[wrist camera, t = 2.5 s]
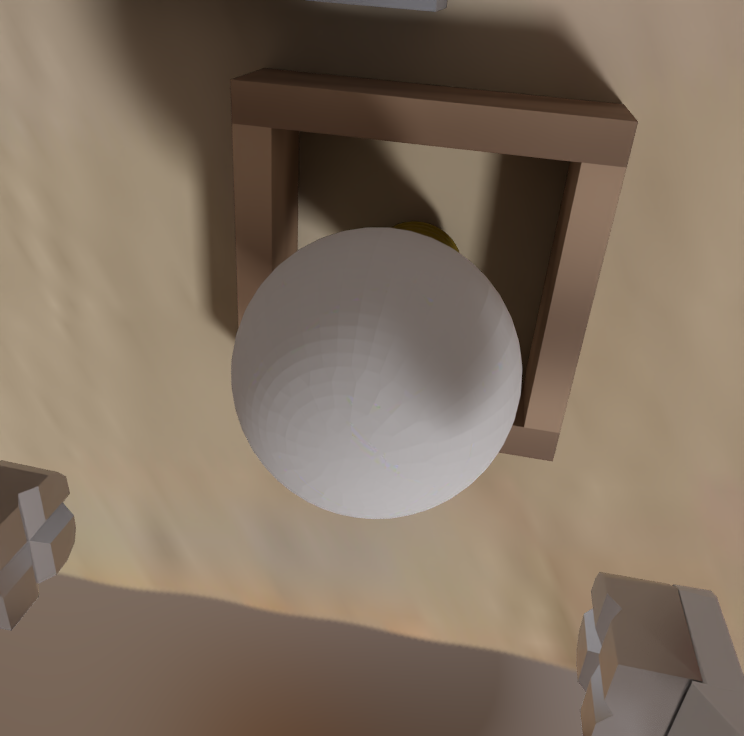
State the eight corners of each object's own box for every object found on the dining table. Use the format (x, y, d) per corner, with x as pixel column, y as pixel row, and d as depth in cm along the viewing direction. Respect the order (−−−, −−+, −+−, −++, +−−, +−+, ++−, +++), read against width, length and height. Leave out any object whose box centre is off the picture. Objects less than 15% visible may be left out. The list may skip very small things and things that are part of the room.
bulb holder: (264, 67, 18) (230, 79, 16) (623, 104, 17) (638, 122, 15) (266, 369, 23) (240, 409, 21) (549, 414, 22) (552, 461, 20)
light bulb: (380, 111, 19) (258, 225, 10) (564, 224, 19) (600, 424, 10) (290, 284, 22) (138, 486, 13) (452, 377, 22) (408, 630, 13)
